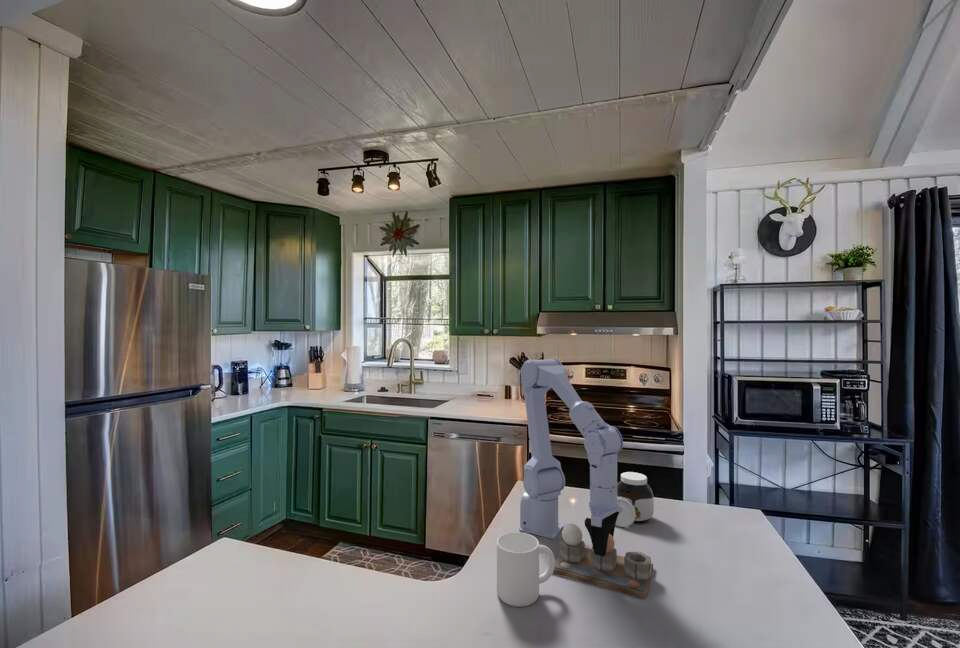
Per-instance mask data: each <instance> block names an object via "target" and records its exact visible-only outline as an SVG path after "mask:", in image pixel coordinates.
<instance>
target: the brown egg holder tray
mask: <svg viewBox="0 0 960 648" xmlns="http://www.w3.org/2000/svg"><path fill="white" fill-rule="evenodd" d="M617 552H618V550H617V549H616V548H615V547H614V549H613V550H612V551H611V552H610V553H606V554H605V556H604V557H603V556H599V555H595V554H594V550H593V546H591V548H588V547H585V541H584V540H583V539H582V540H581V542H580V543H579V544H578V545H576V546H570V545H568V544H566V543H565V542H564V540H563V538H561V540H560V541H559V556H558V557H557V559H556V560H555V567H554V571H553V573H552V574H554V575H558V576H561V577H564V578H565V577H566V578H568V579H572V580H576V581H580V582H583V583H587V584H588V585H589V584H590V585H594V586H597V587H599V588H600V587H601V588H605V589H609V590H611V591H615V592H618V593H622V594H627V595H630V596H633V597H637V598H640V599H643V600H647V598H648V593H649V591H650V585H651V581H652V580H651V579H652V576H653V571H654V563H652V558H651V556H649V555H647V554H645V553H644V552H639V551H627V552H625V554H624V555H625V556H622V555H618V553H617Z"/></svg>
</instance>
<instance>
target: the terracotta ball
mask: <svg viewBox="0 0 960 648" xmlns="http://www.w3.org/2000/svg"><path fill="white" fill-rule="evenodd" d="M615 543H616V542H615V539H614V536H613V537H612V535H611V534H609V537H608V542H607V550H606V553H610V552H611V551H612V550H613V549H614V548H615Z"/></svg>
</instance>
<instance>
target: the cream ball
mask: <svg viewBox="0 0 960 648" xmlns="http://www.w3.org/2000/svg"><path fill="white" fill-rule="evenodd" d="M561 537H562V538H563V540H564V542H565V543H566V544H568V545H570V546H576V545H578V544H579V543H580V542H581V540H582V541H583V532H582V530H581V528H580V527H579V526H578V525H577V524H575V523H569V524H566V525H565V526H563V528H562V529H561ZM562 538H561V539H562Z"/></svg>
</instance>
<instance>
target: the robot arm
mask: <svg viewBox="0 0 960 648" xmlns="http://www.w3.org/2000/svg"><path fill="white" fill-rule="evenodd" d="M519 372H520V379H521V388H522V392H523V394H524V395H523V396H524V402H525V412H526V419H527V420H526V421H527V427H528V430H527V431H528V437H529V444H530V445H529V446H530V453H531V458H530V459H529V460H528V461H527V462H526V463H525V464H524V466H523V473H524V474H523V480H522V482H523V488H524V490H525V491H524V492H523V494H522V495H521V498H520V505H519V506H520V507H519V508H520V509H519V510H520V511H519V514H520V519H519V520H520V521H519V523H520V524H519V525H520V526H519V529H518V531H519V532H522V533H527V534H530V535H536V536H538V537H539V536H540V537H545V538H548V539H551V540H552V539H553V540H554V539H556V537H557V536H558V535H559V534H560V532H561V531H562V530H563V528H564V524H562V523H559V496H561V492H562V491H563V490H564V488H565V486H566V477H565V474H564V472H563V470H562V465H561V461H559V460H558V459H557V458H555V456H553V454H552V453H553V452H552V444H551V436H550V429H549V421H548V413H547V405H546V398H545V396H546V394H547V393H548V391H549V390H551V389H552V390H553V391H554V392H555V393H556V395H557V396H558V397H559V398H560V399H561V400H562V402H563V403H564V404H565V405H566V406H567V408H568V409H569V414H568V415H569V418H570V421H572V422H573V424H574V425H575V427H576V428H577V430H578V431H579V432H580V434H581V435H582V437H583V438H584V440H583V446H584V449H585V451H586V454H587V460H588V463H589V503H588V507H589V511H590V514H591V516H590V517H586V518H585V519H584V527H585V528H586V530H587V532H588V535H589V537H590V541H591V547H593V550H594V554H595V555H599V556H603V557H604V556H605V554H606V550H607V542H608V537H609V534H611V535H612V537H613V538H614V535H615V529H616V520H617V517H618V515H619V513H620V512H622V511H623V506H621V505H618V504H617V484H618V453H620V452H621V451H622V449H623V446H624V441H623V440H624V439H623V435H622V434H621V432H620V431H619V429H618V428H617V427H615V426H611V425H610V424H609V423H606V421H604V419H603V418H602V417H601V416H600V414H599V413H598V412H597V410H596V409H595V407H594V405H593V404H592V403H591V402H589V401H586V400H585V401H583V400H582V399H581V398H580V396H579V394H578V393H577V391H576V390H575V388H574V387H573V385H572V383H571V382H570V381H569V379H568V377H567V375H566V374H567V373H566V372H567V371H566V366H564V365H563V363H562V361H561V360H559V359H558V358H551V359H548V358H547V359H526V360H525V361H524V362H523V363H522V366H521V368H520V371H519Z"/></svg>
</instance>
